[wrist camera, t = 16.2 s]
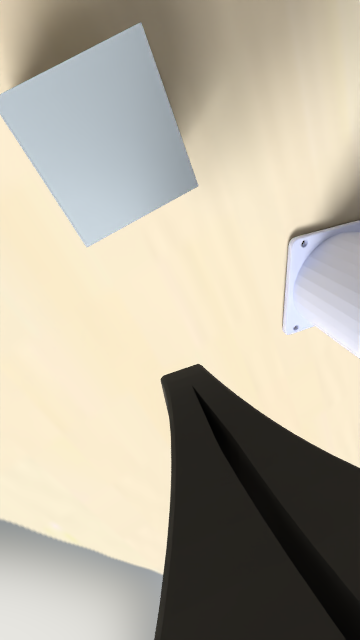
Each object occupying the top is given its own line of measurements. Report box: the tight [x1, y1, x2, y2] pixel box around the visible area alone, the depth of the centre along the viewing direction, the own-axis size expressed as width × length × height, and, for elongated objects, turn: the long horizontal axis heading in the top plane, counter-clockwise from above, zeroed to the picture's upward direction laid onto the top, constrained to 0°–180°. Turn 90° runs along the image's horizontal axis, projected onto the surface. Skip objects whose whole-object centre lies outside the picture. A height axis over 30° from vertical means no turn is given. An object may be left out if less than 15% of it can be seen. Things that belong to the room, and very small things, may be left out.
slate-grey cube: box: [0, 22, 198, 247], centre depth 12 cm, size 5×5×5 cm
